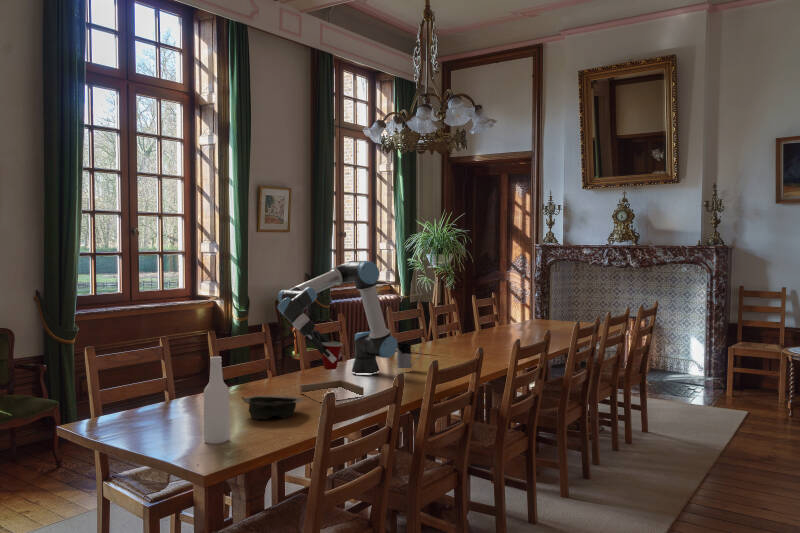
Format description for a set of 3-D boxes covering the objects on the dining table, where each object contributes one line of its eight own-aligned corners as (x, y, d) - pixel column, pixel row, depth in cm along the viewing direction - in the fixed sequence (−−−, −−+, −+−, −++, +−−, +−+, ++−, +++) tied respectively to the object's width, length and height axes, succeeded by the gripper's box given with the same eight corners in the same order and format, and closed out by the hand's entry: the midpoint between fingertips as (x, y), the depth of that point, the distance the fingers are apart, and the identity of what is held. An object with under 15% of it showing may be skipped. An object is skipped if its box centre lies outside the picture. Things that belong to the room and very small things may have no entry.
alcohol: (232, 437, 232) (231, 354, 231) (226, 444, 223) (225, 358, 222) (207, 437, 232) (206, 355, 231) (201, 444, 223) (199, 359, 222)
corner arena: (341, 388, 313) (341, 379, 313) (363, 397, 295) (363, 387, 294) (300, 394, 301) (300, 384, 301) (320, 403, 283) (320, 393, 283)
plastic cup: (345, 369, 295) (345, 343, 294) (322, 371, 291) (322, 345, 290) (338, 365, 305) (338, 340, 304) (316, 367, 301) (316, 342, 300)
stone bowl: (243, 425, 247) (243, 401, 247) (242, 414, 271) (241, 392, 271) (307, 419, 253) (306, 396, 254) (300, 409, 278) (299, 388, 278)
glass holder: (394, 370, 361) (394, 343, 361) (418, 368, 366) (418, 342, 365) (399, 372, 353) (399, 346, 353) (423, 371, 357) (423, 344, 357)
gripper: (305, 328, 310) (337, 360, 309) (291, 333, 288) (326, 369, 286) (316, 317, 310) (348, 350, 308) (303, 322, 287) (337, 357, 286)
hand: (337, 359), depth 297 cm, fingers closed on plastic cup, 10 cm apart
